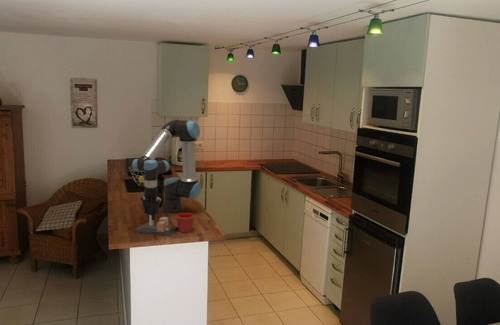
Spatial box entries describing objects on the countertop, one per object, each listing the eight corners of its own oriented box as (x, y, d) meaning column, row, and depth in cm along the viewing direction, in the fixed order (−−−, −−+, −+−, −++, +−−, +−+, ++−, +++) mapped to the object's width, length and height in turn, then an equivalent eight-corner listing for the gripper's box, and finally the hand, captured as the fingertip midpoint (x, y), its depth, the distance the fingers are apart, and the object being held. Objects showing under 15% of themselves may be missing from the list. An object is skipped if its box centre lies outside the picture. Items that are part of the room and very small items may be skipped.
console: (146, 225, 263) (146, 222, 263) (178, 230, 256) (178, 227, 256) (136, 231, 252) (136, 228, 251) (168, 236, 245) (168, 233, 245)
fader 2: (160, 229, 251) (160, 221, 250) (166, 229, 250) (166, 221, 249) (157, 231, 247) (156, 222, 246) (163, 231, 246) (163, 223, 245)
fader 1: (162, 224, 259) (162, 216, 259) (168, 225, 258) (168, 217, 257) (159, 226, 256) (159, 218, 255) (165, 227, 254) (164, 219, 254)
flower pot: (194, 227, 262) (194, 212, 260) (192, 233, 251) (193, 218, 249) (177, 227, 261) (177, 212, 260) (175, 233, 251) (175, 217, 249)
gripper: (137, 186, 245) (138, 225, 249) (157, 189, 241) (158, 228, 245) (144, 184, 252) (145, 221, 256) (164, 186, 248) (164, 224, 252)
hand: (151, 224), depth 250 cm, fingers closed
